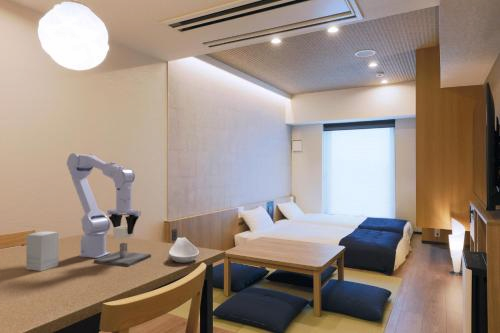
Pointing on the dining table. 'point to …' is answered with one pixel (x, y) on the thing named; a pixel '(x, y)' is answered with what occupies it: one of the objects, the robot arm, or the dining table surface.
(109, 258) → the post board
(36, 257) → the supplement box
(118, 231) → the white hollow block
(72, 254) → the dining table surface
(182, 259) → the spoon rest
